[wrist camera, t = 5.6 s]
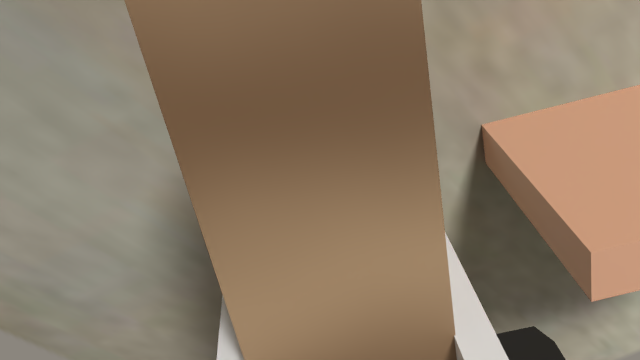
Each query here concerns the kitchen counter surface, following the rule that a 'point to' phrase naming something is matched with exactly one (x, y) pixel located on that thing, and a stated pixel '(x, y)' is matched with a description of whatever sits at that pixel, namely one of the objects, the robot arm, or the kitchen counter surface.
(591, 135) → the terracotta tile
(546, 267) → the kitchen counter surface
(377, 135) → the walnut stick
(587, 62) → the kitchen counter surface
